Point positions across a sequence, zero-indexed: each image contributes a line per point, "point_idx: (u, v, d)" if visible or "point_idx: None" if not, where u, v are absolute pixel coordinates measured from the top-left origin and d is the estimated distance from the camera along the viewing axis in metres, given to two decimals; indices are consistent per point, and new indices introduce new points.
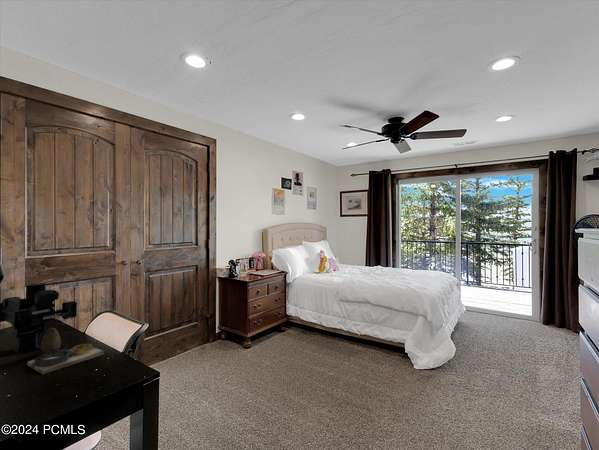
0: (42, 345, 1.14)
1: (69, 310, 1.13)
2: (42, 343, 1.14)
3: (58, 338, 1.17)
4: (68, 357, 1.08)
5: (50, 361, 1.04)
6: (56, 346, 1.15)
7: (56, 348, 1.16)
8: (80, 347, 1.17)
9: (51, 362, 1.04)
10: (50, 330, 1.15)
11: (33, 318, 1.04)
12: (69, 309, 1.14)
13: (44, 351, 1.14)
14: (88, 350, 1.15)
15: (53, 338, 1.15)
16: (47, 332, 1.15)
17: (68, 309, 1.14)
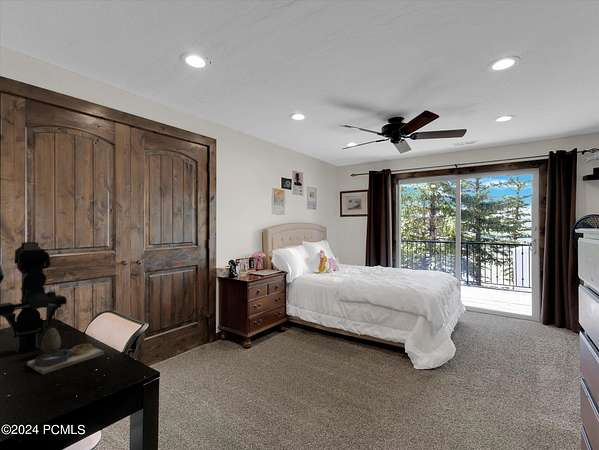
0: (42, 345, 1.14)
1: (50, 317, 1.10)
2: (42, 343, 1.14)
3: (58, 338, 1.17)
4: (68, 357, 1.08)
5: (50, 361, 1.04)
6: (56, 346, 1.15)
7: (56, 348, 1.16)
8: (80, 347, 1.17)
9: (51, 362, 1.04)
10: (50, 330, 1.15)
11: (11, 324, 1.02)
12: (52, 315, 1.11)
13: (44, 351, 1.14)
14: (88, 350, 1.15)
15: (53, 338, 1.15)
16: (47, 332, 1.15)
17: (51, 314, 1.10)
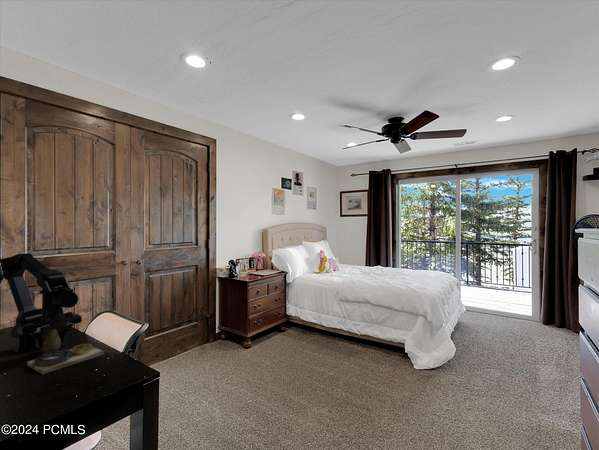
0: (42, 345, 1.14)
1: (63, 336, 1.19)
2: (42, 343, 1.14)
3: (58, 338, 1.17)
4: (68, 357, 1.08)
5: (50, 361, 1.04)
6: (56, 346, 1.15)
7: (56, 348, 1.16)
8: (80, 347, 1.17)
9: (51, 362, 1.04)
10: (50, 330, 1.15)
11: (38, 341, 1.12)
12: (64, 334, 1.19)
13: (44, 351, 1.14)
14: (88, 350, 1.15)
15: (53, 338, 1.15)
16: (47, 332, 1.15)
17: (64, 333, 1.19)
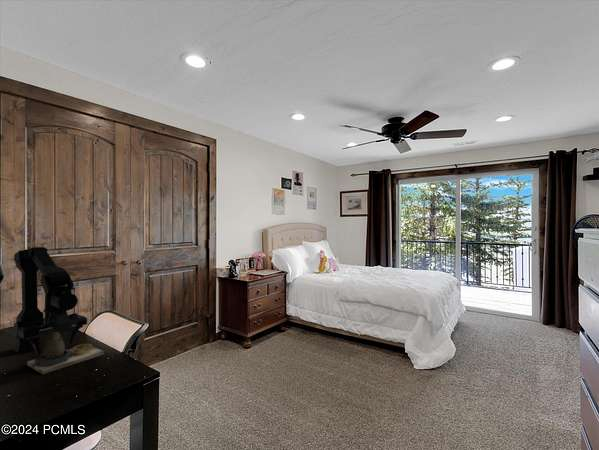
0: (45, 351, 1.05)
1: (72, 338, 1.12)
2: (45, 348, 1.06)
3: (62, 343, 1.08)
4: (68, 357, 1.08)
5: (50, 361, 1.04)
6: (60, 351, 1.07)
7: (60, 354, 1.07)
8: (80, 347, 1.17)
9: (51, 362, 1.04)
10: (53, 334, 1.07)
11: (35, 347, 1.03)
12: (73, 335, 1.12)
13: (46, 357, 1.05)
14: (88, 350, 1.15)
15: (57, 343, 1.07)
16: (50, 336, 1.07)
17: (72, 335, 1.12)
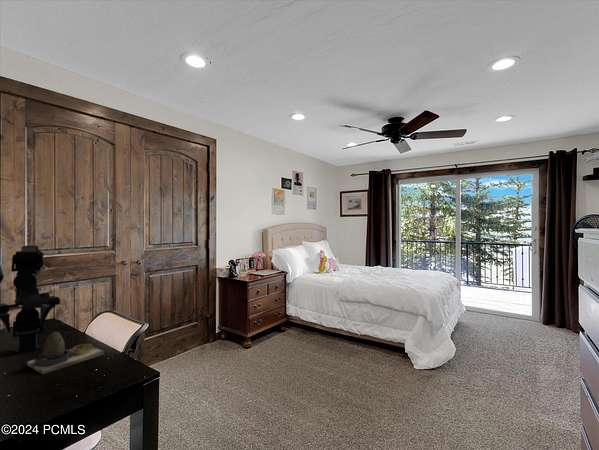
0: (45, 351, 1.05)
1: (44, 318, 1.13)
2: (45, 348, 1.06)
3: (62, 343, 1.08)
4: (68, 357, 1.08)
5: (50, 361, 1.04)
6: (60, 351, 1.07)
7: (60, 354, 1.07)
8: (80, 347, 1.17)
9: (51, 362, 1.04)
10: (53, 334, 1.07)
11: (6, 324, 1.04)
12: (45, 315, 1.13)
13: (46, 357, 1.05)
14: (88, 350, 1.15)
15: (57, 343, 1.07)
16: (50, 336, 1.07)
17: (45, 315, 1.13)
